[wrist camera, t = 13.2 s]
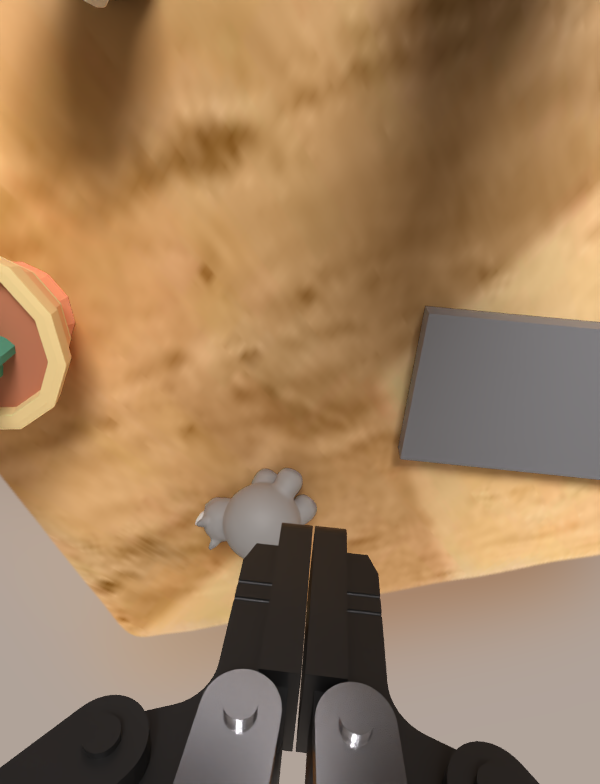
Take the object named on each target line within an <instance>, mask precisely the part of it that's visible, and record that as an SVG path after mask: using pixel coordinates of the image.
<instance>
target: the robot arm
mask: <svg viewBox="0 0 600 784" xmlns="http://www.w3.org/2000/svg"><path fill="white" fill-rule="evenodd" d="M312 529H313V526H310V525H301V524H292V523H282V525H281V531H280V538H279V544H278V545H269V544H260V543H256V545H255V546H254V547H253V548H252V550H251V551H250V552H249V553H248V554H247V556H246V557H245V558H244V559H243V564H242V568H241V572H240V576H239V582H238V585H237V589H236V593H235V599H234V602H233V606H232V610H231V614H230V618H229V623H228V627H227V631H226V636H225V639H224V644H223V648H222V652H221V656H220V660H219V664H218V668H217V670H216V673H215V674H214V676H213V678H212V679H211V681H210V682H209V683H208V685H207V686H206V687H205V688H204V689H203V690H201V691H200V692H199V693H198V694H196V695H195V696H193V697H192V698H190V699H188V700H186V701H184V702H181V703H178V704H174V705H170V706H165V707H161V708H156V709H152V710H147V711H144V709H143V708H142V706H141V705H140V704H139V703H138V702H136V701H135V700H133V699H131V698H129V697H126V696H121V695H109V696H104V697H100V698H97V699H95V700H93V701H91V702H89V703H87V704H86V705H84V706H83V707H81V708H80V709H78V710H77V711H76V712H74V713H73V714H72V715H70V716H69V717H68V718H66V719H65V720H64V721H62V722H61V723H60V724H58V725H57V726H56V727H54V728H53V729H52V730H50V731H49V732H47V733H46V734H45V735H43V736H42V737H41V738H39V739H38V740H37V741H35V742H34V743H33V744H31V745H30V746H29V747H27V748H26V749H25V750H23V751H22V752H21V753H19V754H18V755H17V756H15V757H14V758H13V759H11V760H10V761H9V762H7V763H6V764H5V765H3V766H2V767H1V768H0V784H279V777H280V766H281V756H282V750H285V751H292V749H293V740H294V731H295V723H296V714H297V705H298V696H299V688H300V680H301V690H300V703H299V717H298V729H297V742H296V752H303V753H307V759H306V775H305V784H539V783H538V782H537V781H536V780H535V778H534V777H533V776H532V775H531V774H530V773H529V772H528V771H527V770H526V769H525V768H524V766H523V765H522V764H521V763H520V762H519V761H518V760H517V759H515V757H513V756H512V755H511V754H510V753H508V752H507V751H505V750H504V749H502V748H500V747H498V746H496V745H493V744H490V743H486V742H478V741H476V742H469V743H467V744H464V745H462V746H461V747H459V748H458V749H457V750H456V749H454V748H451V747H449V746H447V745H445V744H443V743H441V742H439V741H437V740H435V739H433V738H431V737H429V736H427V735H425V734H423V733H421V732H420V731H418V730H416V729H415V728H414V727H412V726H411V725H410V724H409V723H408V722H407V721H406V720H405V719H404V718H403V717H402V716H401V714H400V713H399V712H398V710H397V709H396V707H395V705H394V703H393V702H392V699H391V697H390V694H389V690H388V684H387V675H386V674H387V673H386V661H385V649H384V637H383V625H382V617H381V601H380V589H379V576H378V573H377V571H376V569H375V567H374V566H373V564H372V562H371V560H370V559H369V557H368V555H361V554H352V553H347V532H346V529H339V528H330V527H320V526H315V533H314V541H313V550H312V559H311V568H310V577H309V567H310V555H311V542H312ZM308 580H309V588H308ZM307 593H308V599H307ZM306 606H307V612H306ZM305 619H306V626H305ZM304 631H305V638H304ZM303 644H304V651H303ZM302 657H303V664H302ZM301 670H302V677H301Z"/></svg>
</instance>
